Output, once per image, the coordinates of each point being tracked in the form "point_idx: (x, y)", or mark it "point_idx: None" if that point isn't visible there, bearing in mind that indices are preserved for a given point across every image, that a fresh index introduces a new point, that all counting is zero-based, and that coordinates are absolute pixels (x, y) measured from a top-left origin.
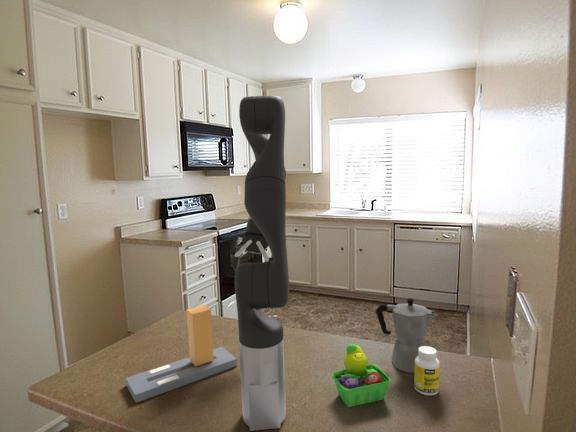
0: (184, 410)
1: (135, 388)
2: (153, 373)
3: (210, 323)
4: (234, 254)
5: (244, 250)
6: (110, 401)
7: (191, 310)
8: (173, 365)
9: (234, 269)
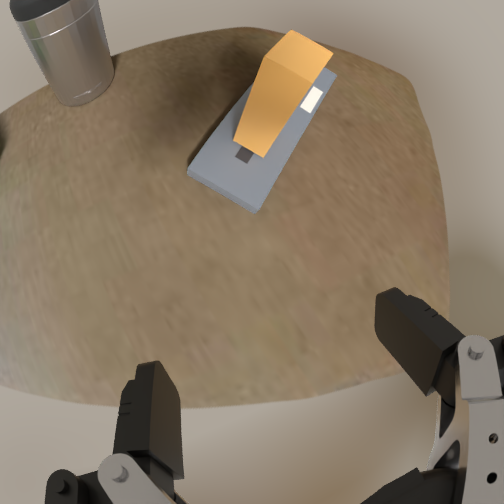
0: (204, 53)
1: None
2: (310, 87)
3: (254, 83)
4: (491, 352)
5: (460, 438)
6: None
7: (315, 48)
8: (300, 113)
9: (389, 290)
